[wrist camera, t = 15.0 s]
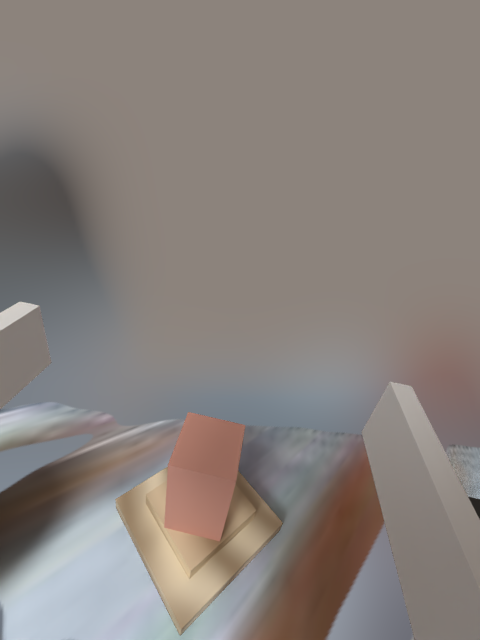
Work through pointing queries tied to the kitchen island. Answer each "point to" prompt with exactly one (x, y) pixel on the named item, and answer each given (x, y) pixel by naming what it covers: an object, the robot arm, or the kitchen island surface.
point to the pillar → (202, 476)
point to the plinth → (167, 565)
